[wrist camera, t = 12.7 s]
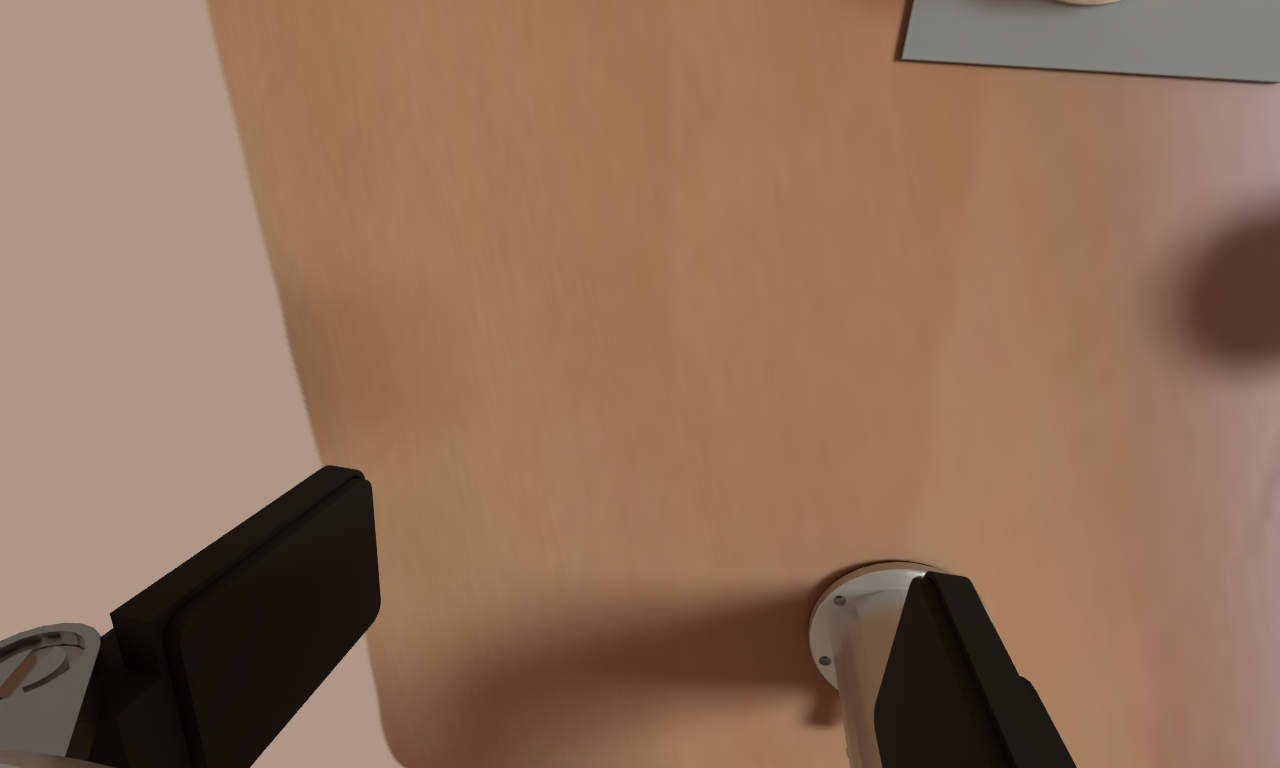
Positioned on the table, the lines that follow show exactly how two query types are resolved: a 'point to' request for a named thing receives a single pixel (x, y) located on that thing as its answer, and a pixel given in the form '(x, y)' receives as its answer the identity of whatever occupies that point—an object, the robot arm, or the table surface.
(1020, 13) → the felt mat
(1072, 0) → the peach octagonal bowl
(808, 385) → the table surface
